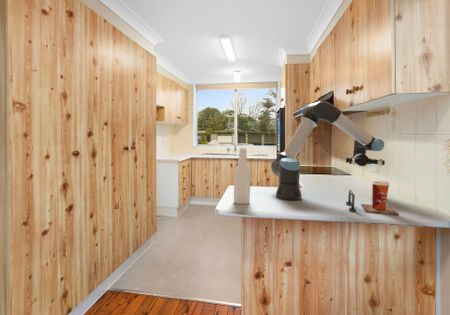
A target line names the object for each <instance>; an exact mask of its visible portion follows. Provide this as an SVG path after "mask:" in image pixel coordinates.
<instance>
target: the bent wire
mask: <svg viewBox="0 0 450 315" xmlns="http://www.w3.org/2000/svg"><path fill="white" fill-rule="evenodd" d="M355 197H356V196H355V194H354V192H353V191H352V190H351V189H348V197H347V198H348V200H347V201H345V205H346V206H350V207H348V211H349V212H352V213H357V209H356V207H355Z"/></svg>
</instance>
